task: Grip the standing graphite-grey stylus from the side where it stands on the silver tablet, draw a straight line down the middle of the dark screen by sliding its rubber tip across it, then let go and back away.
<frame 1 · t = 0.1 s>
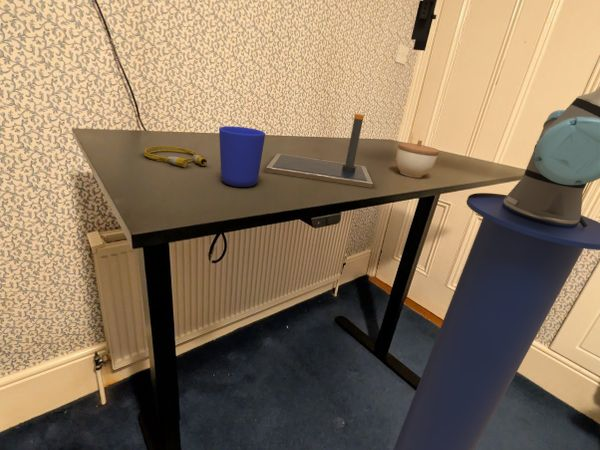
hand: (418, 45, 71), 30 cm above the table, tool pointing down, fingers open, 13 cm apart
trinket box: (410, 175, 90), on the table
stylus: (348, 170, 79), point 1 cm above the table, touching tablet
extension cord: (174, 159, 73), on the table
tablet: (319, 171, 80), on the table
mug: (235, 181, 64), on the table
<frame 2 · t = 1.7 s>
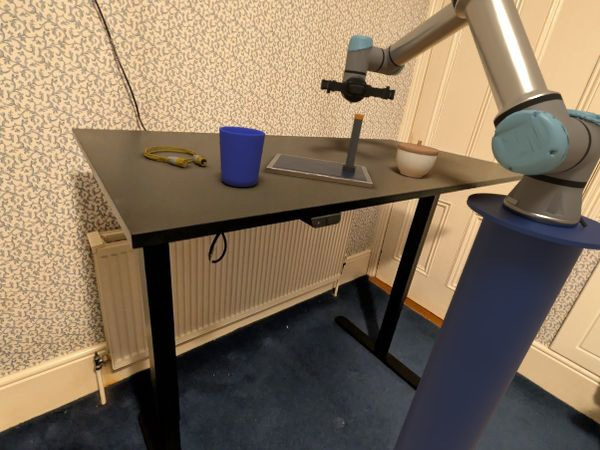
hand: (360, 89, 81), 20 cm above the table, tool horizontal, fingers open, 13 cm apart
nothing on the table moved.
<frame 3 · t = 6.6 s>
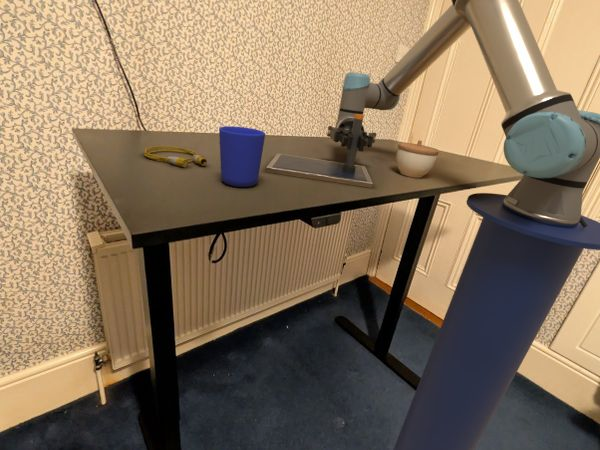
hand: (356, 144, 71), 8 cm above the table, tool horizontal, fingers closed on stylus, 2 cm apart
stylus: (348, 170, 79), point 1 cm above the table, touching gripper, tablet
everything else where it was.
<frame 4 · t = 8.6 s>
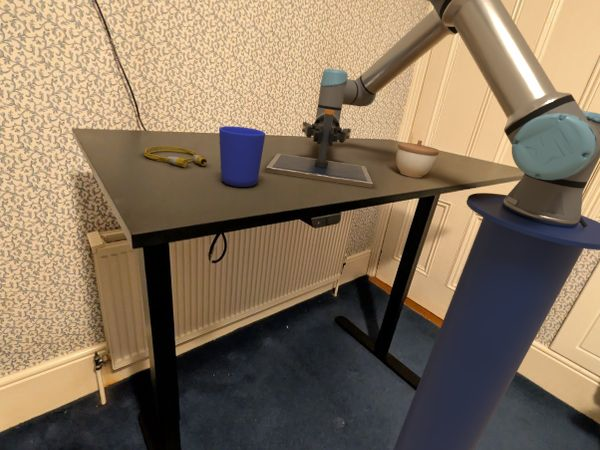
hand: (325, 139, 72), 9 cm above the table, tool horizontal, fingers closed on stylus, 2 cm apart
stylus: (321, 165, 80), point 1 cm above the table, touching gripper
everything else where it was.
when the fingers open (8 cm above the table, at t = 10.8 s): stylus stays where it is, resting on tablet.
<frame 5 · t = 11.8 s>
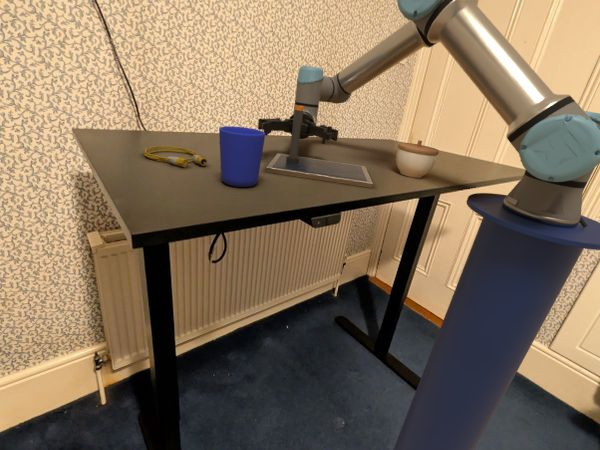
hand: (294, 133, 74), 8 cm above the table, tool horizontal, fingers open, 13 cm apart
stylus: (292, 162, 80), point 1 cm above the table, touching tablet
everything else where it was.
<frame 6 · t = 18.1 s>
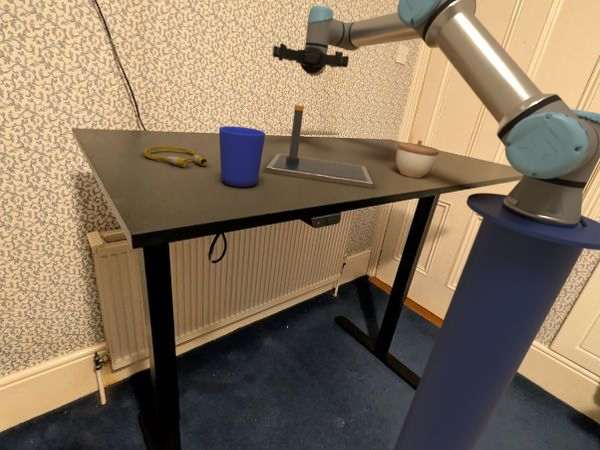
hand: (308, 53, 79), 26 cm above the table, tool horizontal, fingers open, 13 cm apart
nothing on the table moved.
at the end: stylus 0.0 cm from the target spot on the tablet, point 1.2 cm above the tablet's base; stylus moved 14.0 cm from its start; stylus tilted 0° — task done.
